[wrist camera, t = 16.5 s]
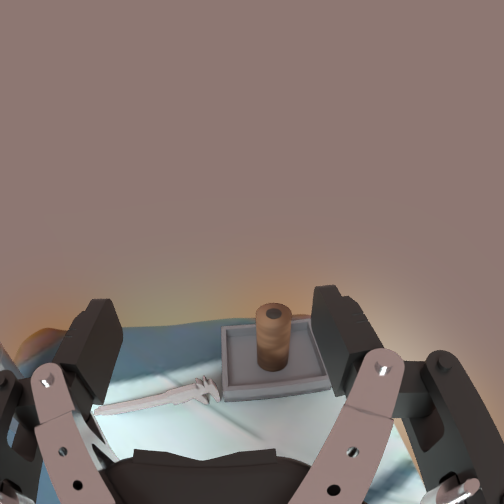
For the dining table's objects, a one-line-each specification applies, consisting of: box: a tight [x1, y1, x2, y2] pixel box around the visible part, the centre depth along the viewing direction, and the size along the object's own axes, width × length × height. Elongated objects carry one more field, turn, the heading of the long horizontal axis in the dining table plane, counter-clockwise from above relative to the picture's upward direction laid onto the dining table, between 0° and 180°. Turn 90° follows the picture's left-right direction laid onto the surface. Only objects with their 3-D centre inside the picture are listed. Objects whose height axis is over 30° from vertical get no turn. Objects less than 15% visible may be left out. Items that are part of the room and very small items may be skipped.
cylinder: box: [256, 303, 292, 372], centre depth 42 cm, size 5×5×10 cm
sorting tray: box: [221, 318, 331, 402], centre depth 44 cm, size 16×14×3 cm
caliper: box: [94, 376, 220, 416], centre depth 35 cm, size 20×1×6 cm, turn 106°
